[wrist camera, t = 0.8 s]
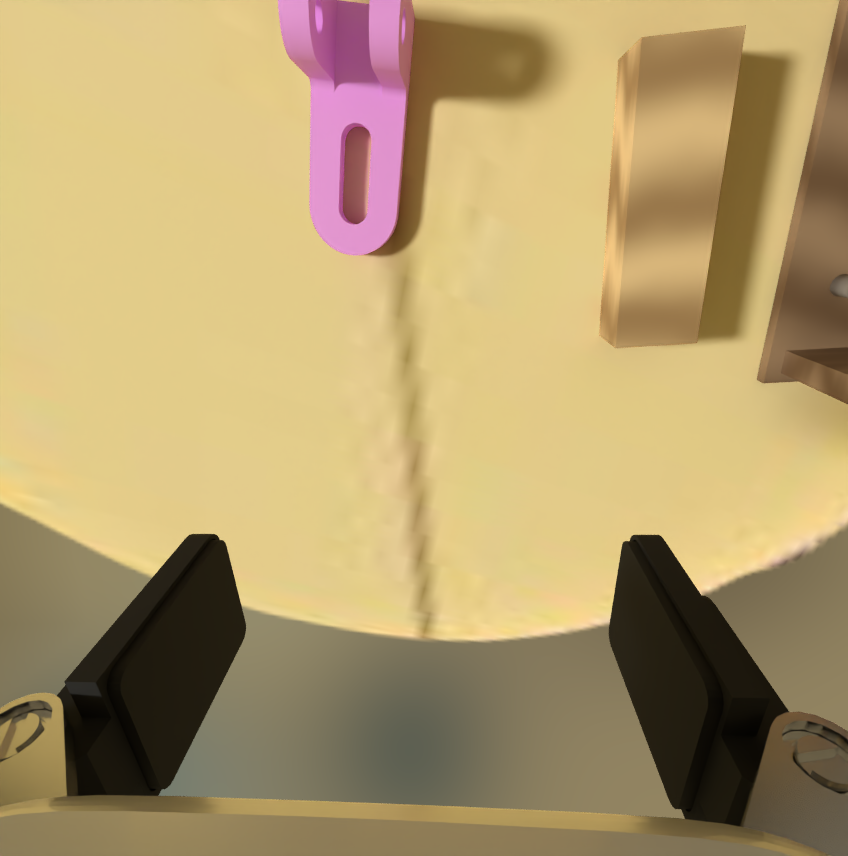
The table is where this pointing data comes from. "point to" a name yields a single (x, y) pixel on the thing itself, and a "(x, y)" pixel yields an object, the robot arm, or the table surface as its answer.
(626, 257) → the plank
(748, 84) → the table surface
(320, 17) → the bracket
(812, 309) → the holder
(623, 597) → the robot arm
